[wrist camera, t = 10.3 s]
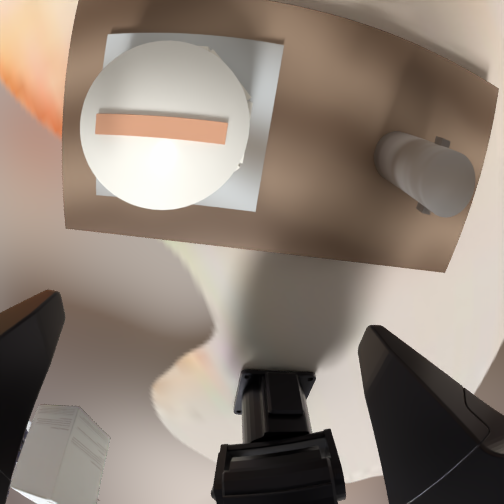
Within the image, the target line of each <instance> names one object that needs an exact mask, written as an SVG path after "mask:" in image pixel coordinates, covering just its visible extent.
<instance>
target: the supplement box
mask: <svg viewBox="0 0 504 504" xmlns="http://www.w3.org/2000/svg"><path fill="white" fill-rule="evenodd" d="M110 439H111V438H110V436H108V435H107V434H106V433H105V432H104V431H103V430H102V429H101V428H100V427H99V426H98V425H97V424H96V423H95V422H94V421H93V420H92V419H91V418H90V417H89V416H88V415H87V414H86V413H85V411H84V410H83V409H82V408H81V407H79V406H61V405H45V404H41V405H39V407H38V409H37V412H36V414H35V416H34V419H33V421H32V424H31V426H30V429H29V432H28V434H27V437H26V439H25V442H24V445H23V448H22V450H21V453H20V456H19V459H18V462H17V465H16V468H15V471H14V474H13V478H12V481H11V484H10V487H11V488H13V489H14V490H16V491H17V492H19V493H20V494H22V495H24V496H25V497H27V498H28V499H30V500H32V501H33V502H35V503H37V504H97V499H98V494H99V489H100V484H101V479H102V474H103V469H104V465H105V460H106V456H107V451H108V447H109V443H110Z"/></svg>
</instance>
